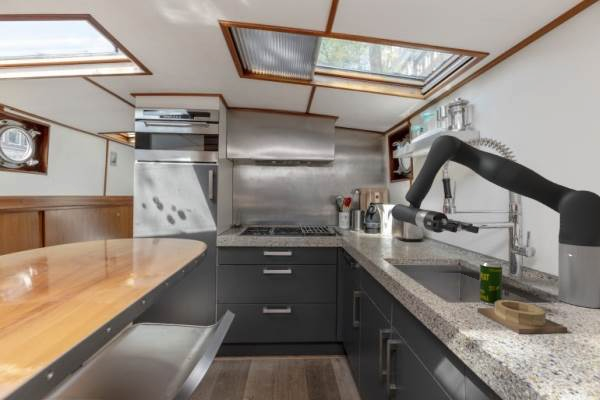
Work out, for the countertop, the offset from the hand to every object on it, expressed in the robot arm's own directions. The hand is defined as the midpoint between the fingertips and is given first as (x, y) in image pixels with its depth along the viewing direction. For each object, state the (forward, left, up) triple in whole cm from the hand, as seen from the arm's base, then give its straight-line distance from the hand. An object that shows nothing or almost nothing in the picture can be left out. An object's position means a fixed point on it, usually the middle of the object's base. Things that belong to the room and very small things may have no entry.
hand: (467, 229), depth 88 cm
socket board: (+2, +20, -20) cm, 29 cm away
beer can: (-1, +8, -21) cm, 22 cm away
